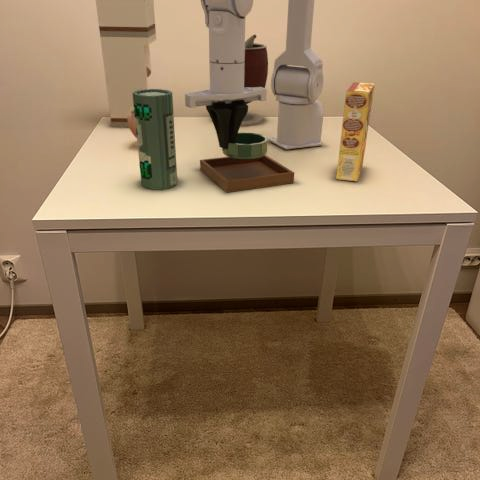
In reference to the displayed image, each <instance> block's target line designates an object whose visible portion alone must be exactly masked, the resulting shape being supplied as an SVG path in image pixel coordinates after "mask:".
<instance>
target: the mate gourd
mask: <svg viewBox="0 0 480 480" xmlns="http://www.w3.org/2000/svg"><path fill="white" fill-rule="evenodd" d="M255 39H257V35H256V34H252V35H251V36H250V37H248V38H247V39H245V61H244V62H245V66H244V88H248V87H262V88H266V85H267V81H268V74H269V55H268V49H267V47H268V45H267V44H263V43H256V42H255ZM251 103H253V101H248V102H245V104H246V105H248V104H251ZM263 119H264V118H263V116H262V115H260V114H257V113H253V112H247V114H246V115H245V117H244V119H243V121H242V123H241V126H240V127H246V126H254V125H259V124H261V123H262V122H263Z"/></svg>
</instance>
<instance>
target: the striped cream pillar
mask: <svg viewBox="0 0 480 480" xmlns="http://www.w3.org/2000/svg"><path fill="white" fill-rule="evenodd" d="M95 6H96V13H97V21H98V23H97V24H98V30H99V38H100V44H101V53H102V62H103V69H104V77H105V83H106V84H105V86H106V92H107V101H108V109H109V117H110V125H111V128H129V125H128V121H127V117H128V113H129V111H130V109H131V108H132V107H133V106H134V104H133V94H132V93H133V92H134V91H138V90H144V89H149V86H148V85H149V84H148V78H149V77H150V76H151V75H152V66H151V65H152V64H151V52H150V44H152V43H153V42H154V43H155V41H157V32H156V31H157V28H156V17H155V15H156V14H155V2H154V0H95Z"/></svg>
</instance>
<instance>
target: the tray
mask: <svg viewBox="0 0 480 480" xmlns="http://www.w3.org/2000/svg"><path fill="white" fill-rule="evenodd" d="M199 170H200V171H201V172H202V173H203V174H204V175H205V176H207V177H208V178H209V179H210V180H211V181H213V182H214V183H215V184H216V185H217V186H219V188H221V189H222V190H223V191H224V192H225V193H233V192H240V191H241V192H242V191H248V190H254V189H260V188H261V189H262V188H269V187H275V186H281V185H288V184H289V185H290V184H295V183H294V182H295V172H294V171H293V170H291V169H289V168H287V167H286V166H284V165H283V164H281V163H280V162H278V161H276V160H274V159H273V158H271V157H270V156H268V155H267V154H266V155H265V156H263V157H260V158H255V159H237V158H232V157H228V156H221V157H214V158H205V159H200V160H199Z"/></svg>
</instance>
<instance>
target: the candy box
mask: <svg viewBox="0 0 480 480" xmlns="http://www.w3.org/2000/svg"><path fill="white" fill-rule="evenodd" d="M375 86H376V85H375V83H371V82H356V81H355V82H353V83H351V85H350V86H349V88H348V89H347V90H346V91H345V100H344V106H343V107H344V109H343V116H342V125H341V134H340V141H339V142H340V143H339V151H338V160H337V169H336V176H335V179H336V180H340V181H350V182H357V181H358V180H359V178H360V175H361V173H362V170H363V167H364V165H363V164H364V159H365V152H366V146H367V138H368V131H369V124H370V119H371V118H370V117H371V111H372V104H373V98H374V90H375Z"/></svg>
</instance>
